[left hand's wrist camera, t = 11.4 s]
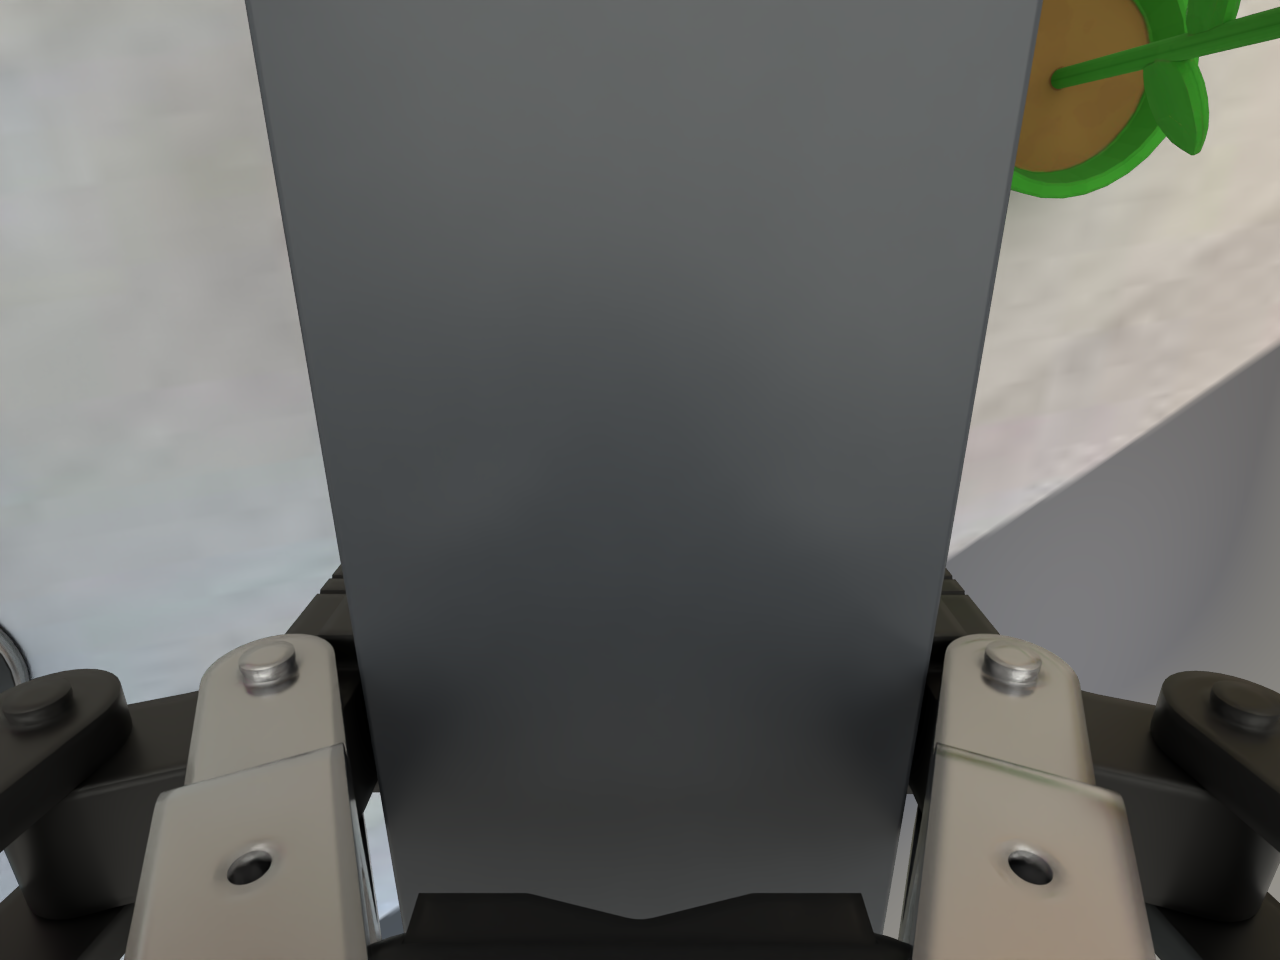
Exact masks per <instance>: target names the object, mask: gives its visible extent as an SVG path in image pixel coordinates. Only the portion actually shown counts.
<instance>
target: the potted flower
mask: <svg viewBox="0 0 1280 960" xmlns="http://www.w3.org/2000/svg"><path fill="white" fill-rule="evenodd" d="M1240 1H1241V0H1043V4H1042V10H1041V15H1040V21H1039V27H1038V33H1037V39H1036V45H1035V50H1034V56H1033V62H1032V68H1031V74H1030V79H1029V85H1028V91H1027V97H1026V103H1025V108H1024V114H1023V120H1022V126H1021V132H1020V138H1019V143H1018V149H1017V155H1016V161H1015V167H1014V172H1013V178H1012V184H1011V190H1013V191H1017V192H1020V193H1024V194H1028V195H1032V196H1036V197H1040V198H1068V197H1073V196H1079V195H1084V194H1087V193H1090V192H1092V191H1095V190H1098V189H1100V188H1103V187H1105V186H1108V185H1109V184H1111V183H1113V182H1114V181H1116V180H1118V179H1119V178H1121V177H1123V176H1124V175H1126V174H1128V173H1129V172H1130V171H1132V170H1133V169H1134V168H1135V167H1136V166H1138V165H1139V164H1140V163H1141V162H1142V161H1144V160H1145V159H1146V158H1147V157H1148V156H1149V155H1150V154H1151V153H1152V152H1153V151H1154V149H1155V148H1156V147H1157V146H1158V145H1159V144H1160V143H1161V142H1162V140H1163V139H1164V138H1165V137H1166V136H1167V138H1168V139H1169V140H1170V141H1171V142H1172V143H1173V144H1175V145H1176V146H1178V147H1179V148H1180V149H1182V150H1183V151H1185V152H1187V153H1188V154H1190V155H1195V154H1198V153H1199V152H1200V151H1201V149H1202V146H1203V144H1204V141H1205V139H1206V135H1207V131H1208V123H1209V107H1208V97H1207V92H1206V87H1205V82H1204V80H1203V77H1202V74H1201V72H1200V69H1199V67H1198V61H1199V57H1200V56H1204V55H1209V54H1213V53H1217V52H1221V51H1226V50H1230V49H1234V48H1239V47H1243V46H1247V45H1252V44H1256V43H1260V42H1265V41H1269V40H1273V39H1278V38H1280V7H1277V8H1274V9H1270V10H1267V11H1263V12H1259V13H1256V14H1252V15H1249V16H1245V17H1242V18H1238V19H1236V16H1237V12H1238V9H1239V5H1240Z"/></svg>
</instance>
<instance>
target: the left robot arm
mask: <svg viewBox="0 0 1280 960" xmlns="http://www.w3.org/2000/svg"><path fill="white" fill-rule="evenodd" d="M964 592H965V591H964V590H963V588H962V587H961V586H960V585H959V584H958V582H957V581H956V580H955V579H954V580H953V579H952V575H951V574H950V572H949V571H948V570H947V569H946V568H945V574H944V579H943V585H942V591H941V597H940V603H939V609H938V614H937V620H936V626H935V632H934V638H933V643H932V649H931V655H930V661H929V667H928V672H927V678H926V684H925V690H924V696H923V702H922V707H921V713H920V719H919V725H918V731H917V736H916V742H915V748H914V754H913V760H912V765H911V771H910V777H909V783H908V789H907V794H913V795H914V797H915V799H916V801H917V804H918V807H917V813H916V819H915V824H914V830H913V837H912V844H911V851H910V858H909V865H908V873H907V880H906V887H905V894H904V901H903V909H902V916H901V923H900V930H899V937H898V940H897V939H894V938H891V937H888V936H885V935H881V934H877V933H874V932H873V929H872V926H871V922H870V919H869V916H868V913H867V910H866V907H865V903H864V900H863V897H862V894H861V893H750V894H746V895H742V896H738V897H734V898H730V899H726V900H722V901H718V902H714V903H710V904H706V905H702V906H698V907H694V908H690V909H686V910H682V911H678V912H674V913H670V914H666V915H662V916H658V917H654V918H648V919H632V918H626V917H622V916H618V915H614V914H610V913H606V912H602V911H598V910H594V909H590V908H586V907H582V906H578V905H574V904H570V903H566V902H562V901H558V900H554V899H550V898H546V897H542V896H538V895H534V894H530V893H419V894H418V897H417V900H416V903H415V907H414V910H413V913H412V916H411V919H410V922H409V926H408V929H407V932H406V933H403V934H399V935H395V936H392V937H389V938H386V939H383V940H382V938H381V930H380V923H379V916H378V909H377V902H376V894H375V887H374V880H373V873H372V865H371V858H370V851H369V844H368V837H367V830H366V824H365V819H364V813H363V812H364V810H365V808H366V806H367V803H368V801H369V799H370V797H371V794H372V792H380V789H379V783H378V777H377V771H376V765H375V760H374V754H373V748H372V742H371V736H370V730H369V724H368V719H367V713H366V707H365V701H364V695H363V689H362V683H361V678H360V672H359V666H358V660H357V654H356V648H355V643H354V637H353V631H352V625H351V619H350V613H349V607H348V602H347V596H346V590H345V584H344V578H343V572H342V566H341V565H340V566H339V567H338V569H337V570H336V571H335V572H334V574H333V575H332V579H329V580H328V581H327V582H326V583H325V585H324V586H323V587H322V588H321V590H320V594H317V595H316V596H315V597H314V598H313V600H312V601H311V602H310V603H309V605H308V606H307V607H306V608H305V610H304V611H303V612H302V613H301V615H300V616H299V617H298V618H297V620H296V621H295V622H294V623H293V625H292V626H291V627H290V628H289V630H288V631H287V632H286V633H285V634H284V635H277V636H271V637H267V638H263V639H259V640H256V641H253V642H250V643H247V644H245V645H243V646H240V647H238V648H236V649H234V650H232V651H230V652H228V653H227V654H225V655H224V656H222V657H221V658H219V659H218V660H217V661H216V662H214V663H213V664H212V665H211V666H210V667H209V668H208V669H207V671H206V672H205V674H204V675H203V677H202V679H201V682H200V687H199V691H195V692H191V693H186V694H181V695H176V696H170V697H165V698H160V699H155V700H150V701H144V702H139V703H134V704H129V705H127V702H126V699H125V696H124V693H123V690H122V686H121V683H120V681H119V679H118V678H117V677H116V676H115V675H114V674H112V673H110V672H107V671H104V670H98V669H76V670H69V671H62V672H58V673H53V674H49V675H45V676H42V677H39V678H35V679H33V680H30V681H29V674H28V670H27V667H26V664H25V662H24V659H23V657H22V655H21V654H20V652H19V650H18V649H17V647H16V646H15V644H14V643H13V642H12V640H11V639H10V638H9V637H8V636H7V635H6V634H5V633H4V632H3V631H2V630H1V629H0V852H2V851H3V850H4V851H5V854H6V856H7V858H8V861H9V863H10V865H11V868H12V870H13V872H14V875H15V877H16V879H17V882H18V884H19V886H18V887H17V888H16V889H15V890H14V891H13V892H12V893H11V894H10V895H9V896H7V897H6V898H5V899H4V900H3V901H2V902H1V903H0V960H120V959H121V957H122V956H123V955H124V954H125V957H124V960H1156V957H1155V954H1156V955H1157V956H1158V957H1159V958H1160V960H1280V903H1279V902H1278V901H1277V900H1276V899H1275V898H1274V897H1272V895H1270V894H1269V893H1268V892H1267V891H1268V888H1269V886H1270V884H1271V881H1272V879H1273V877H1274V875H1275V872H1276V870H1277V868H1278V865H1279V863H1280V694H1279V693H1277V692H1275V691H1273V690H1271V689H1268V688H1266V687H1264V686H1261V685H1259V684H1256V683H1253V682H1250V681H1248V680H1244V679H1241V678H1237V677H1234V676H1230V675H1225V674H1220V673H1213V672H1206V671H1185V672H1179V673H1176V674H1173V675H1171V676H1169V677H1168V678H1167V679H1165V681H1164V683H1163V685H1162V688H1161V691H1160V694H1159V697H1158V701H1157V704H1156V706H1155V705H1150V704H1145V703H1140V702H1134V701H1129V700H1124V699H1119V698H1113V697H1108V696H1103V695H1098V694H1094V693H1090V692H1085V691H1082V690H1081V688H1080V683H1079V680H1078V677H1077V675H1076V674H1075V672H1074V671H1073V669H1072V668H1071V667H1070V666H1069V665H1068V664H1067V663H1066V662H1064V661H1063V660H1062V659H1061V658H1059V657H1058V656H1056V655H1055V654H1053V653H1052V652H1050V651H1048V650H1046V649H1044V648H1042V647H1040V646H1037V645H1035V644H1033V643H1030V642H1027V641H1024V640H1021V639H1017V638H1013V637H1009V636H1003V635H1000V634H999V633H998V632H997V630H996V629H995V628H994V627H993V625H992V624H991V623H990V622H989V620H988V619H987V618H986V617H985V616H984V614H983V613H982V612H981V611H980V609H979V608H978V607H977V606H976V604H975V603H974V602H973V601H972V600H971V598H970V597H969V596H968V595H965V593H964Z"/></svg>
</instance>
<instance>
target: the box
mask: <svg viewBox="0 0 1280 960" xmlns="http://www.w3.org/2000/svg"><path fill="white" fill-rule="evenodd" d="M245 4H246V10H247V16H248V22H249V28H250V33H251V39H252V45H253V51H254V57H255V63H256V69H257V74H258V80H259V86H260V92H261V98H262V104H263V110H264V115H265V121H266V127H267V133H268V139H269V145H270V151H271V156H272V162H273V168H274V174H275V180H276V186H277V192H278V197H279V203H280V209H281V215H282V221H283V227H284V233H285V238H286V244H287V250H288V256H289V262H290V268H291V274H292V279H293V285H294V291H295V297H296V303H297V309H298V315H299V320H300V326H301V332H302V338H303V344H304V350H305V356H306V361H307V367H308V373H309V379H310V385H311V391H312V397H313V402H314V408H315V414H316V420H317V426H318V432H319V438H320V443H321V449H322V455H323V461H324V467H325V473H326V479H327V484H328V490H329V496H330V502H331V508H332V514H333V520H334V525H335V531H336V537H337V543H338V549H339V555H340V561H341V566H342V572H343V578H344V584H345V590H346V596H347V602H348V607H349V613H350V619H351V625H352V631H353V637H354V643H355V648H356V654H357V660H358V666H359V672H360V678H361V683H362V689H363V695H364V701H365V707H366V713H367V719H368V724H369V730H370V736H371V742H372V748H373V754H374V760H375V765H376V771H377V777H378V783H379V789H380V795H381V801H382V806H383V812H384V818H385V824H386V830H387V836H388V842H389V847H390V853H391V859H392V865H393V871H394V877H395V883H396V888H397V894H398V900H399V906H400V912H401V918H402V924H403V929H404V933H406V932H407V929H408V926H409V922H410V919H411V916H412V913H413V910H414V907H415V903H416V900H417V897H418V894H419V893H530V894H534V895H538V896H542V897H546V898H550V899H554V900H558V901H562V902H566V903H570V904H574V905H578V906H582V907H586V908H590V909H594V910H598V911H602V912H606V913H610V914H614V915H618V916H622V917H626V918H632V919H648V918H654V917H658V916H662V915H666V914H670V913H674V912H678V911H682V910H686V909H690V908H694V907H698V906H702V905H706V904H710V903H714V902H718V901H722V900H726V899H730V898H734V897H738V896H742V895H746V894H750V893H861V894H862V897H863V900H864V903H865V907H866V910H867V913H868V916H869V919H870V922H871V926H872V929H873V932H874V933H877V934H881V935H882V934H883V928H884V922H885V917H886V911H887V905H888V899H889V893H890V888H891V882H892V876H893V870H894V864H895V859H896V853H897V847H898V841H899V835H900V829H901V824H902V818H903V812H904V806H905V800H906V794H907V789H908V783H909V777H910V771H911V765H912V760H913V754H914V748H915V742H916V736H917V731H918V725H919V719H920V713H921V707H922V702H923V696H924V690H925V684H926V678H927V672H928V667H929V661H930V655H931V649H932V643H933V638H934V632H935V626H936V620H937V614H938V609H939V603H940V597H941V591H942V585H943V579H944V574H945V568H946V562H947V556H948V550H949V545H950V539H951V533H952V527H953V521H954V515H955V510H956V504H957V498H958V492H959V486H960V481H961V475H962V469H963V463H964V457H965V452H966V446H967V440H968V434H969V428H970V422H971V417H972V411H973V405H974V399H975V393H976V388H977V382H978V376H979V370H980V364H981V358H982V353H983V347H984V341H985V335H986V329H987V324H988V318H989V312H990V306H991V300H992V295H993V289H994V283H995V277H996V271H997V265H998V260H999V254H1000V248H1001V242H1002V236H1003V231H1004V225H1005V219H1006V213H1007V207H1008V202H1009V196H1010V190H1011V184H1012V178H1013V172H1014V167H1015V161H1016V155H1017V149H1018V143H1019V138H1020V132H1021V126H1022V120H1023V114H1024V108H1025V103H1026V97H1027V91H1028V85H1029V79H1030V74H1031V68H1032V62H1033V56H1034V50H1035V45H1036V39H1037V33H1038V27H1039V21H1040V15H1041V10H1042V4H1043V0H245Z"/></svg>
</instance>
